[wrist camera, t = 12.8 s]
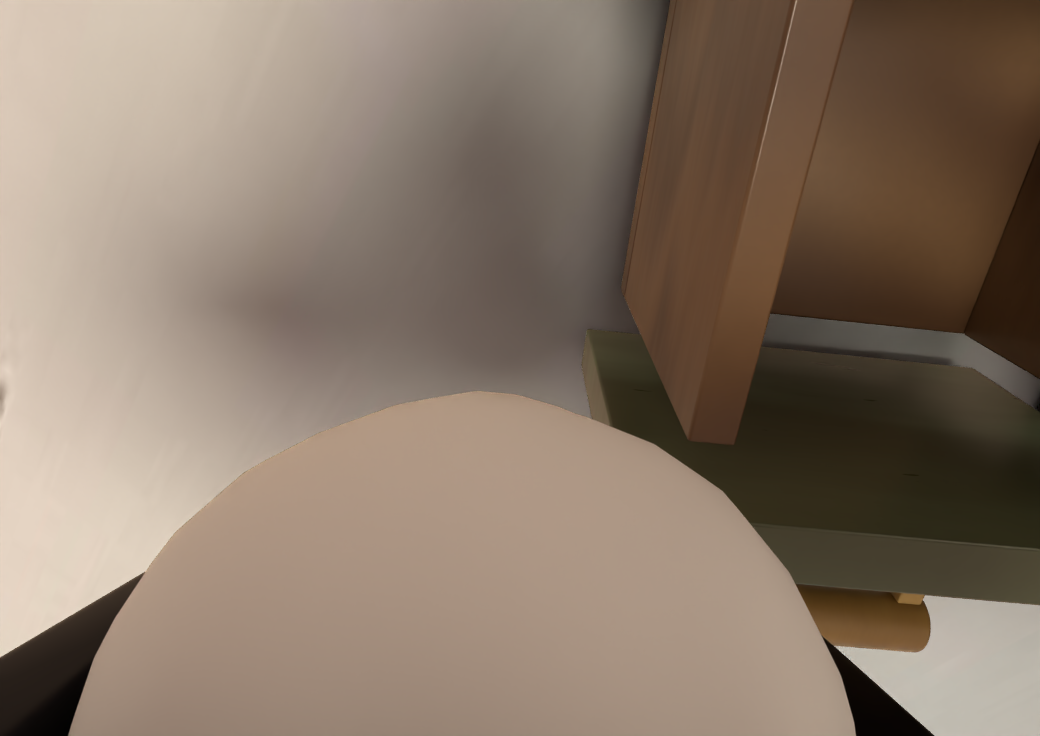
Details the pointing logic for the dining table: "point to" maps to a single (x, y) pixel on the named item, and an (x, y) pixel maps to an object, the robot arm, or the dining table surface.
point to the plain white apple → (466, 594)
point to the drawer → (844, 293)
